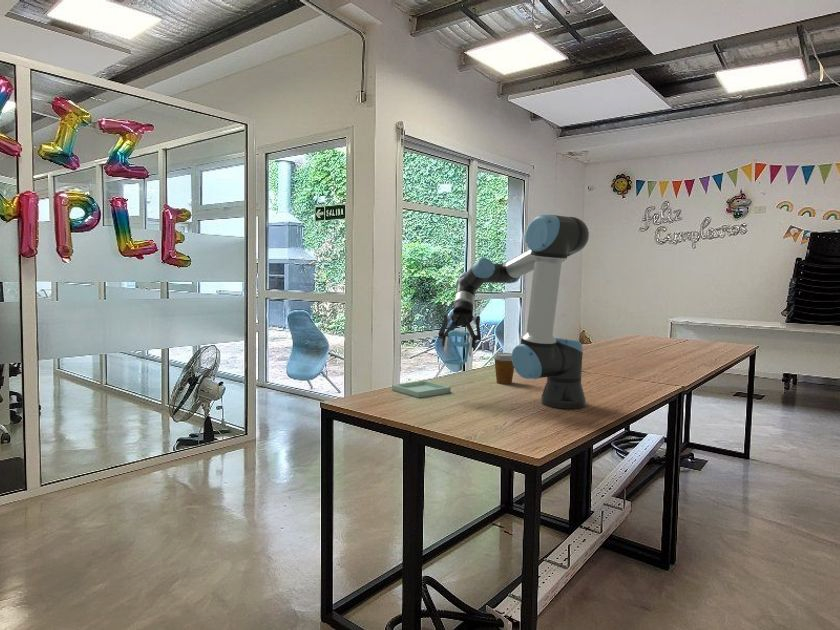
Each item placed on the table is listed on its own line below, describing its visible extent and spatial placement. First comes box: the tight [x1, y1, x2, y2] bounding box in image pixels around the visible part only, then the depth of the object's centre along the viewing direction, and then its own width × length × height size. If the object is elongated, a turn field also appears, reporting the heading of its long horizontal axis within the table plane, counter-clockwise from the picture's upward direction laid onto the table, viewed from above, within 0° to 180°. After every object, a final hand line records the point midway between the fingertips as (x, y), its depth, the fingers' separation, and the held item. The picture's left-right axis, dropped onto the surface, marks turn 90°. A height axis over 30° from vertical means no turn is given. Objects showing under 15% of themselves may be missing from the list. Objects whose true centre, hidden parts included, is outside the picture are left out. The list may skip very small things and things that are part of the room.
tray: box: [391, 379, 452, 399], centre depth 212 cm, size 16×16×2 cm
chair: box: [443, 329, 471, 366], centre depth 201 cm, size 8×8×12 cm
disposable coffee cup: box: [492, 352, 515, 385], centre depth 231 cm, size 10×10×12 cm
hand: (457, 353), depth 198 cm, fingers closed on chair, 8 cm apart
